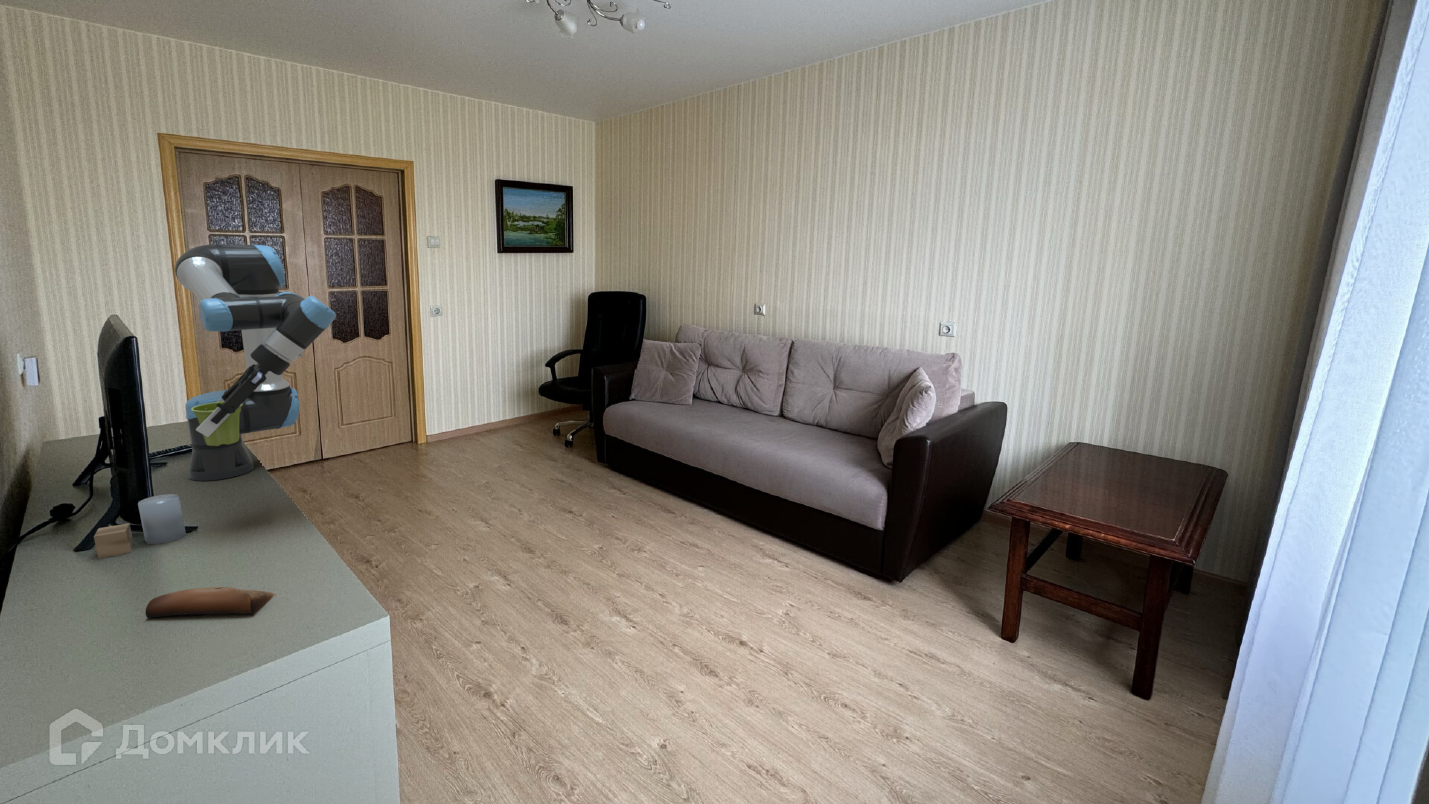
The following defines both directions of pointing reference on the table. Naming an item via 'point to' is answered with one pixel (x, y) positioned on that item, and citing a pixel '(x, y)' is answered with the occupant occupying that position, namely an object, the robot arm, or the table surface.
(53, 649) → the table surface
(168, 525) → the slate jar
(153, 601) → the sunglasses case
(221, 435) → the plant pot
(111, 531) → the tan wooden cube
